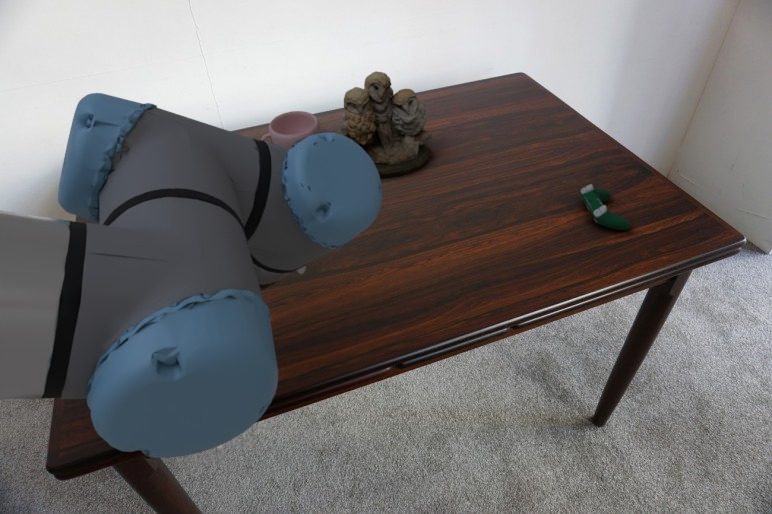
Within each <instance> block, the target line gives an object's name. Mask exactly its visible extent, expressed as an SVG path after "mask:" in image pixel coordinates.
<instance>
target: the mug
mask: <svg viewBox="0 0 772 514" xmlns="http://www.w3.org/2000/svg"><path fill="white" fill-rule="evenodd" d="M318 133H322V126H321V123H320V120H319V119H318V117H317V116H316V115H314V114H313V113H311V112H308V111H303V110H293V111H287V112H284V113H281V114H278V115H277V116H275V117H274V118H272V120H271V121H270V123H269V124H268V133H265V134H263V135H262V137H261V139H260V140H264V141H266V140H267V139H268V138H269V140H270V143H273V144H276V145H279V146H282V147H286V148H289V149H291V148H292V146H293V145H294V144H295V143H296V142H298V141H300V142H301V141H303V140H304V139H305V138H307V137H309V136H311V135H314V134H318Z"/></svg>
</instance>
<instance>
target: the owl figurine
mask: <svg viewBox="0 0 772 514" xmlns="http://www.w3.org/2000/svg"><path fill="white" fill-rule="evenodd" d="M363 86H364V88H362V87H358V86H354V87H353V88H351V89H350V88H349V90H347V91H345V94H344V97H343V107H344V108H343V111H344V112H343V113H342V114H341V118H342V119H343V124H342V126H343V127H341V128H339V129H336V132H334V133H336V134H340V135H343V136H345V137H347V138H349V139H351V140H353V141H354V142H355V143H357V144H358V145H359V146H360V147H361V148H362V149H363V150H364V151H365V152H366V153H367V154H368V155H369V157H370V158H371V159H372V161H373V163H374V164H375V166H376V168H377V171H378V173H379V176H380V179H385V178H394V177H400V176H404V175H407V174H411V173H413V172H415V171H418V170H419V169H421V168H423V167H424V166H425V164H426V163H428V162H429V161H430V159H431V158H430V157H431V151H430V148H429V147H428V146H427V145H426V144H425V142H426V141H428V140H430V139H432V136H433V133H432V131H429V130H425V126H426V123H427V116H426V114H427V113H426V109H425V107H426V106H425V102H423V101H422V100H421V99H420V98H418V96H417V94H416V92H415V91H414V90H413V89H411V88H402V89H399V90H397V92H395V93H394V89H393V88H392V81H391V77H390V76H389V75H388V74H387V73H386V72H382V71H373V72H371V73H370V74H369V75H367V76H366V77H365V79H364V83H363Z"/></svg>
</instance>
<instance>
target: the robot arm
mask: <svg viewBox="0 0 772 514" xmlns="http://www.w3.org/2000/svg"><path fill="white" fill-rule="evenodd" d="M157 105H158V104H157ZM157 105H156V104H155V103H150V102H147V103H142V102H139V101H135V100H131V99H126V98H122V97H118V96H114V95H111V94H110V95H109V94H106V93H102V92H92V93H88V94H86V95H84V96H83V97H81V98H80V100H79V101H78V103H77V105H76V107H75V110H74V114H73V118H72V122H71V126H70V130H69V133H68V138H67V142H66V148H65V152H64V157H63V162H62V167H61V173H60V180H59V185H58V192H57V200H58V205H60V207H61V208H62V209H63V210H64V211H65V212H66V213H68V214H70V215H74V216H77V217H81V218H85V219H89V220H90V221H92V222H80V221H73V220H68V219H61V218H53V217H47V216H40V215H36V214H35V215H34V214H27V213H22V212H21V213H20V212H13V211H8V210H1V209H0V400H41V399H43V400H45V399H59V400H86V404H87V407H88V408H89V410H90V419H91V422H92V425H93V429H94V430H95V432H96V434H97V435H98V436H99V437H100V438H102V439H103V440H104V441H105V442H107V444H108V445H109V446H110V447H112V448H114V449H116V450H118V451H121V452H124V453H125V452H128V453H132V452H136V451H140V452H141V453H142V454H144V455H145V457H149V458H155V459H164V458H165V459H166V458H167V459H168V458H179V457H184V456H190V455H194V454H197V453H201V452H205V451H208V450H211V449H214V448H217V447H219V446H222V445H224V444H226V443H228V442H230V441H231V440H234V439H235V438H237V437H239V436H240V435H242V434H244V433H245V432H246V431H248V430H249V429H250V428H251V427H253V426H254V425H255V424H256V423H257V422H258V421H259V420H260V419H261V418H262V416H263V415H264V414H265V412H266V411H267V410H268V407H269V406H270V405H271V404H272V401H273V400H274V399H275V395H276V393H277V388H278V383H279V368H278V362H277V356H276V348H275V342H274V336H273V329H272V322H271V321H272V315H271V309H270V307H269V306H268V304H267V303H266V301H265V300H264V297H263V293H262V291H264V290H266V289H267V288H269V287H271V286H273V285H274V284H276V283H277V282H279V281H280V280H282V279H284V278H285V277H287V276H289V275H290V274H293V273H294V272H295V273H296V274H297V275H303V274H304V273H305V272H306V271H307V264H310V263H311V262H313V261H315V260H317V259H319V258H321V257H323V256H325V255H327V254H329V253H331V252H332V251H335V250H339V249H341V248H344V247H346V246H347V245H348V244H350V243H351V241H352V240H353V239H354V238H355V237H357V236H358V235H359V234H361V233H363V232H364V231H365V230H367V229H368V228H369V227H370V226H371V225H372V224H373V223H374V222H375V221H376V219H377V218H378V216H379V213H380V211H381V208H382V203H383V187H382V186H383V185H382V180H381V178H380V176H379V173H378V171H377V168H376V166H375V164H374V163H373V161H372V159H371V158H370V157H369V155H368V154H367V153H366V152H365V151H364V150H363V149H362V148H361V147H360V146H359V145H358V144H357V143H355V142H354V141H353V140H351V139H349V138H347V137H345V136H343V135H340V134H336V133H335V132H330V131H329V132H321V133H318V134H314V135H311V136H309V137H307V138H305V139H304V140H303V141H301V142H300V141H298V142H296V143H295V144H294V145H293V146H292V148H291V149H289V148H286V147H282V146H279V145H276V144H273V143H272V142H271V141H266V140H265V141H264V140H261V139H256V138H254V137H253V138H252V137H249V136H247V135H243V134H240V133H237V132H234V131H230V130H228V129H224V128H221V127H219V126H215V125H213V124H209V123H206V122H203V121H200V120H197V119H193V118H190V117H187V116H185V115H181V114H179V113H175V112H172V111H170V110H166V109H163V108H160V107H158V106H157Z"/></svg>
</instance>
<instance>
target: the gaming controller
mask: <svg viewBox="0 0 772 514" xmlns="http://www.w3.org/2000/svg"><path fill="white" fill-rule="evenodd" d="M579 194H580V197H581V199H582V200H583V202H584V203H585V205H586V206H587V207H586V208H587V210H588V211H589V212H590V214H591V215H592V217H593V220H594V221H595V223H596V224H598V225H599V226H602V227H604V228H608V229H611V230H616V231H629V230H630V226H631V223H630V221H629V220H628V219H626V218H625V217H623V216H621V215H618V214H616V213H615V212H612V211H610V210H609V208H608V207H607V205H606V204H604V203H606V202H608V201H609V200H610V199H611V196H612V195H611V193H610V191H608V190H607V189H606V188H599V187H594V185H593V184H592V183H590V184H588V185H585V186H584V187H582V188H581V189H580V190H579Z"/></svg>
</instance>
